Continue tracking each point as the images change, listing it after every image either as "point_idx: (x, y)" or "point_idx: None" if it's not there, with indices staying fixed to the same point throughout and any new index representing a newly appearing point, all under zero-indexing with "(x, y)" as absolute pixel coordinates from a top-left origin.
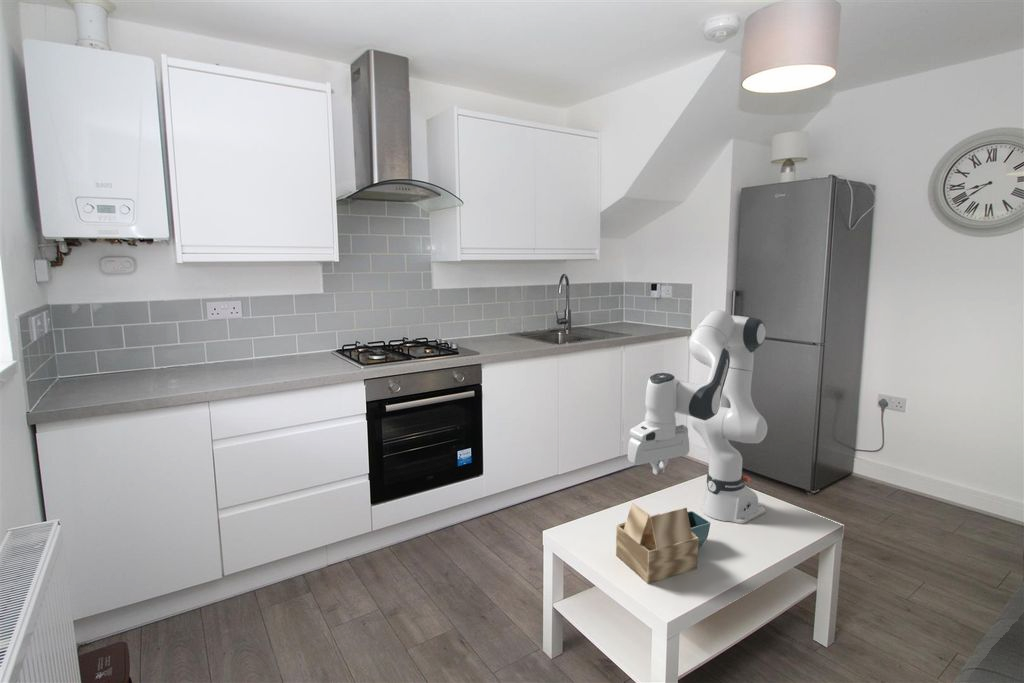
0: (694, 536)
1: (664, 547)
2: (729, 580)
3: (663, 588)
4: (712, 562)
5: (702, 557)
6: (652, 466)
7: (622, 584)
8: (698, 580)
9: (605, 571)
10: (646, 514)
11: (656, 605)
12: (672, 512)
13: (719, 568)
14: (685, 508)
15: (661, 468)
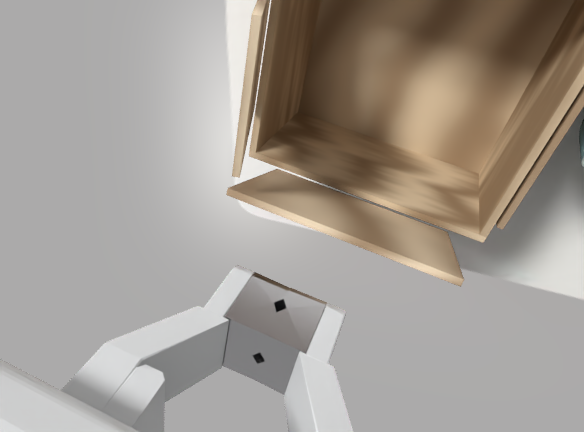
0: (484, 227)
1: (315, 180)
2: (485, 263)
3: None
4: (560, 199)
5: (574, 162)
6: (176, 324)
7: (234, 61)
8: None
9: None
10: (234, 158)
11: (247, 174)
12: (359, 244)
13: (535, 226)
14: (450, 281)
15: (267, 385)
